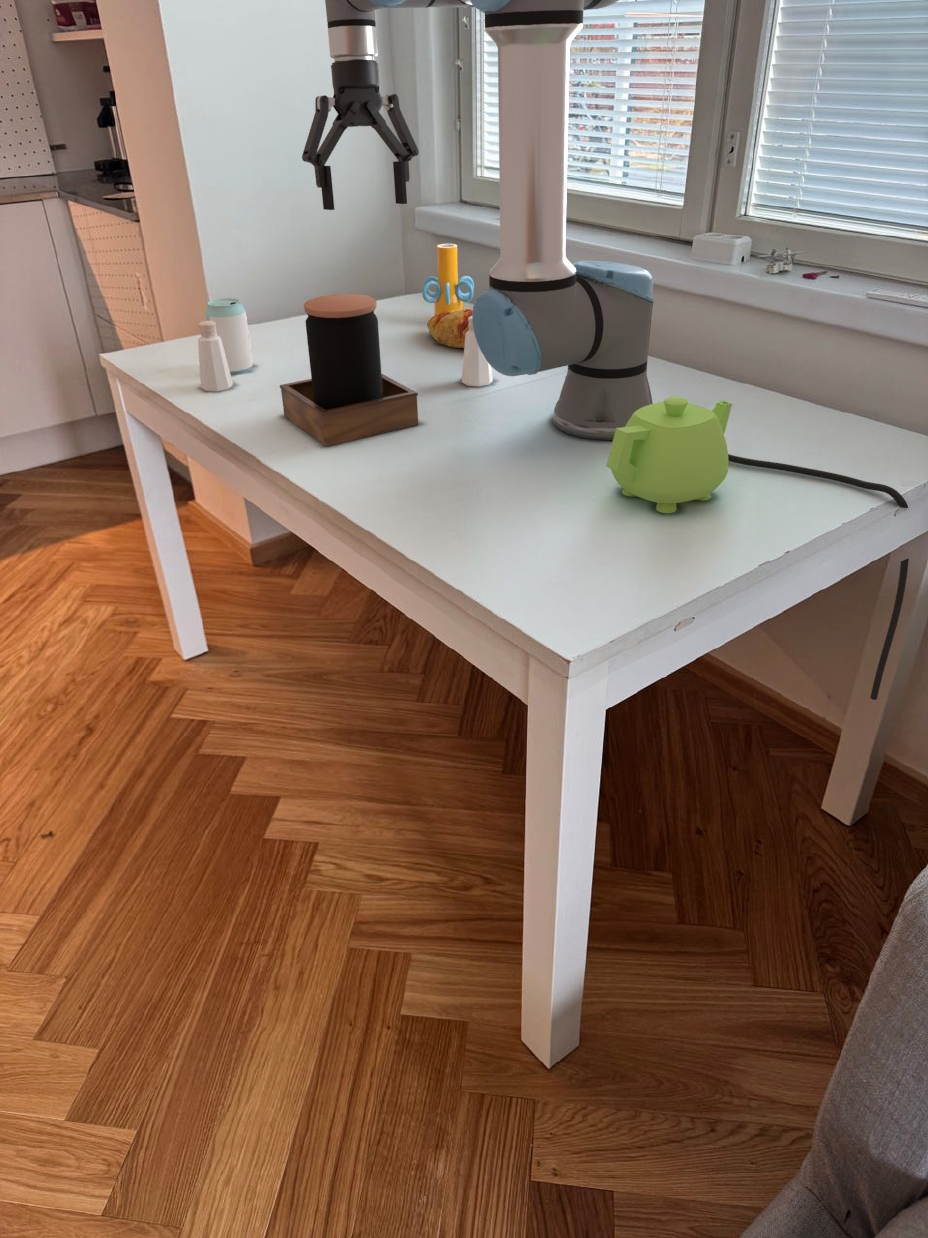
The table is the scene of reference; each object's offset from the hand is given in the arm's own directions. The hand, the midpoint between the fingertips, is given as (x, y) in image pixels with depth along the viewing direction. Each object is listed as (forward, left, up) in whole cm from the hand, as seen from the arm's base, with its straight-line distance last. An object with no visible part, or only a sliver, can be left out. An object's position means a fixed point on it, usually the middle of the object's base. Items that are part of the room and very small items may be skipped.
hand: (365, 206), depth 158 cm
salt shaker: (+4, +29, -27) cm, 40 cm away
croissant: (+2, -20, -27) cm, 33 cm away
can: (+12, +23, -27) cm, 37 cm away
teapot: (-73, -4, -27) cm, 78 cm away
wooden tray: (-24, +17, -27) cm, 40 cm away
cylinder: (+17, -26, -27) cm, 41 cm away
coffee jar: (-24, +17, -27) cm, 40 cm away
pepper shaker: (-20, -9, -27) cm, 35 cm away
